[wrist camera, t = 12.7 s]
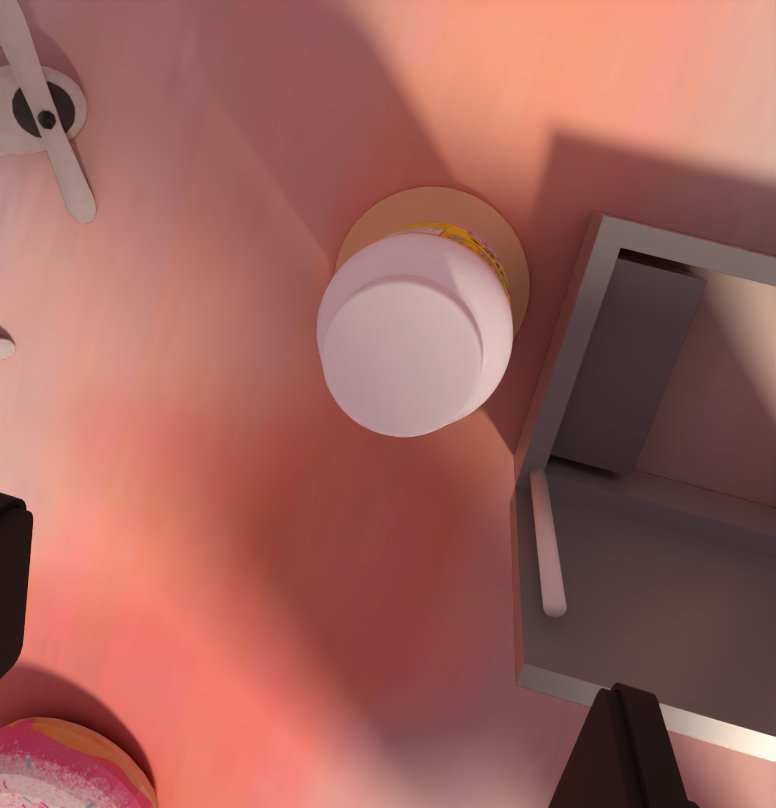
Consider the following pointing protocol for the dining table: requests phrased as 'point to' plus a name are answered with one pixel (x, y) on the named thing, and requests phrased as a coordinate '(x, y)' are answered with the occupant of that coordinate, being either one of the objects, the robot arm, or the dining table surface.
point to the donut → (67, 768)
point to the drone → (40, 116)
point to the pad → (452, 209)
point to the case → (638, 509)
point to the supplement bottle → (416, 329)
